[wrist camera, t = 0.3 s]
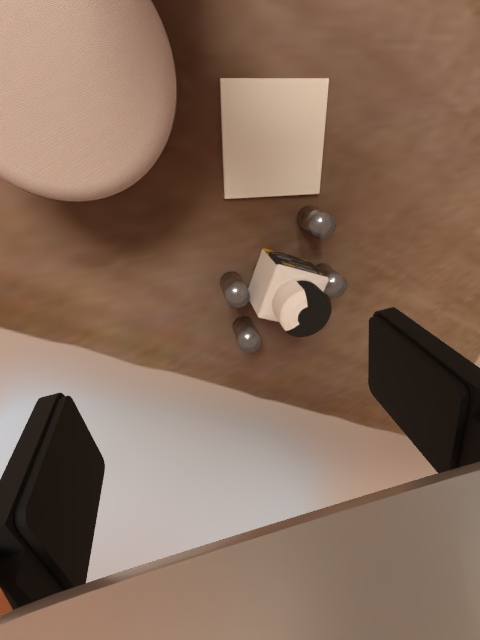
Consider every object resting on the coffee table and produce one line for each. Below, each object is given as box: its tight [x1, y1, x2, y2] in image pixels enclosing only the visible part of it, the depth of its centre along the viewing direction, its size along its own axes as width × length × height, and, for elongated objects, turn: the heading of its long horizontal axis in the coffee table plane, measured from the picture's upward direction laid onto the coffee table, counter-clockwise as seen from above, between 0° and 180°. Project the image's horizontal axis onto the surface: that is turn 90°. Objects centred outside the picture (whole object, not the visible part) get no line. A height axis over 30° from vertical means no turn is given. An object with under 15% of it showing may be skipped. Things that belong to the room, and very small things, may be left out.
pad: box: [220, 78, 329, 199], centre depth 41 cm, size 12×12×1 cm
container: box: [0, 0, 177, 202], centre depth 30 cm, size 18×18×12 cm
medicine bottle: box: [248, 248, 331, 337], centre depth 44 cm, size 7×7×12 cm
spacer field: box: [220, 206, 347, 353], centre depth 47 cm, size 18×16×5 cm
